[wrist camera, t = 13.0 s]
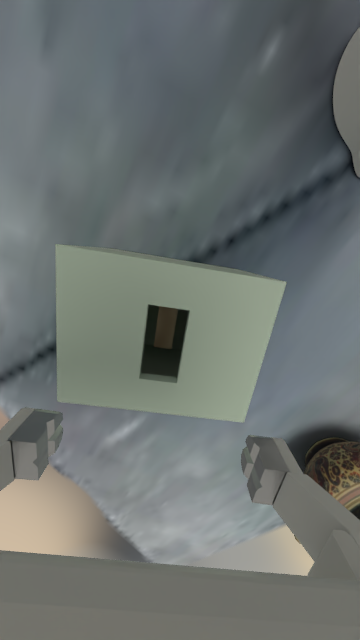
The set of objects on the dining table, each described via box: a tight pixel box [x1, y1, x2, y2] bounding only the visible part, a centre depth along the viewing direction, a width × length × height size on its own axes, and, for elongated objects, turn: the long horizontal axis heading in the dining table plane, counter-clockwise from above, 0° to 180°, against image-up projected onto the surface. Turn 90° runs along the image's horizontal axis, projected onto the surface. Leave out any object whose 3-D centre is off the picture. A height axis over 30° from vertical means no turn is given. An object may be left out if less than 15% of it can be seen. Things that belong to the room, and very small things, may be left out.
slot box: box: [55, 244, 287, 422], centre depth 25 cm, size 18×14×14 cm
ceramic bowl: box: [294, 438, 360, 544], centre depth 35 cm, size 24×18×15 cm
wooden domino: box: [154, 306, 178, 349], centre depth 27 cm, size 2×5×8 cm, turn 171°
